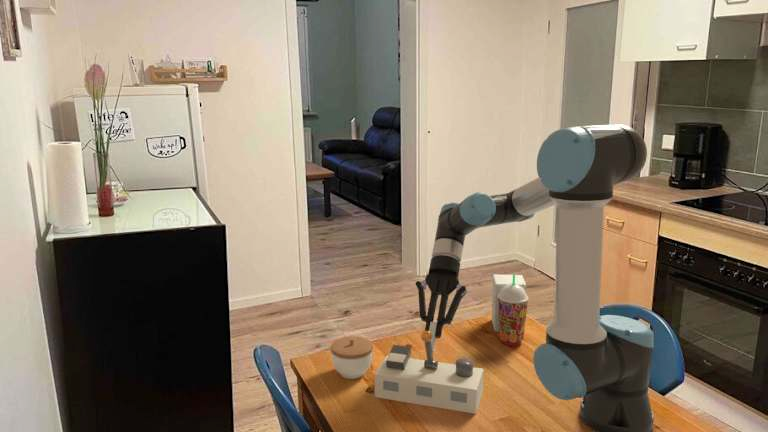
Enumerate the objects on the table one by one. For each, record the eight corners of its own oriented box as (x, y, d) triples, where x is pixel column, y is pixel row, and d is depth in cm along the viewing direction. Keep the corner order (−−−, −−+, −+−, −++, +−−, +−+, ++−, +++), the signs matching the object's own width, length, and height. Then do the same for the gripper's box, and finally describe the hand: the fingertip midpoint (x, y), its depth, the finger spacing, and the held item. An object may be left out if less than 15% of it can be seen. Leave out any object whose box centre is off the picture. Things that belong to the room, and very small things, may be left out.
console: (482, 391, 142) (483, 368, 140) (475, 414, 132) (476, 390, 131) (387, 376, 149) (387, 354, 148) (374, 397, 140) (374, 374, 138)
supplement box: (520, 320, 182) (523, 274, 178) (524, 332, 173) (527, 284, 170) (491, 319, 183) (492, 273, 179) (493, 331, 174) (495, 283, 170)
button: (474, 370, 140) (474, 359, 139) (471, 378, 136) (471, 367, 135) (457, 367, 141) (457, 357, 140) (454, 376, 137) (454, 365, 136)
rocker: (411, 352, 145) (410, 346, 144) (404, 369, 140) (403, 362, 139) (394, 350, 147) (393, 343, 146) (386, 367, 141) (385, 360, 140)
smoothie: (489, 341, 168) (492, 274, 163) (507, 332, 173) (510, 268, 168) (514, 351, 162) (517, 282, 157) (531, 341, 167) (535, 275, 162)
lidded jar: (352, 388, 144) (351, 353, 142) (322, 373, 151) (321, 340, 149) (382, 372, 151) (381, 338, 149) (352, 358, 158) (351, 326, 156)
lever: (438, 363, 142) (434, 328, 134) (436, 372, 140) (431, 337, 132) (426, 361, 143) (421, 327, 135) (424, 370, 141) (418, 335, 133)
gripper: (473, 269, 151) (459, 358, 140) (423, 264, 155) (406, 351, 144) (469, 256, 145) (455, 349, 134) (418, 251, 149) (400, 341, 138)
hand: (429, 350), depth 139 cm, fingers closed
